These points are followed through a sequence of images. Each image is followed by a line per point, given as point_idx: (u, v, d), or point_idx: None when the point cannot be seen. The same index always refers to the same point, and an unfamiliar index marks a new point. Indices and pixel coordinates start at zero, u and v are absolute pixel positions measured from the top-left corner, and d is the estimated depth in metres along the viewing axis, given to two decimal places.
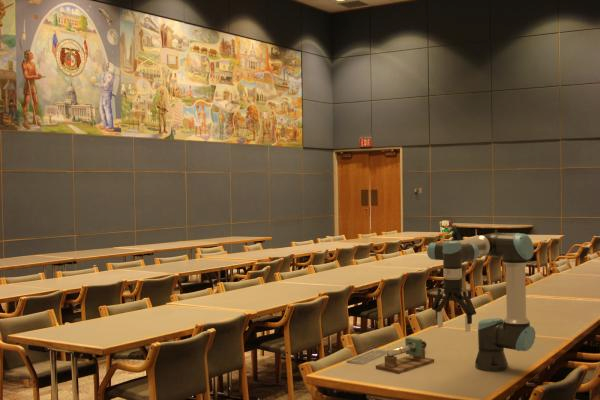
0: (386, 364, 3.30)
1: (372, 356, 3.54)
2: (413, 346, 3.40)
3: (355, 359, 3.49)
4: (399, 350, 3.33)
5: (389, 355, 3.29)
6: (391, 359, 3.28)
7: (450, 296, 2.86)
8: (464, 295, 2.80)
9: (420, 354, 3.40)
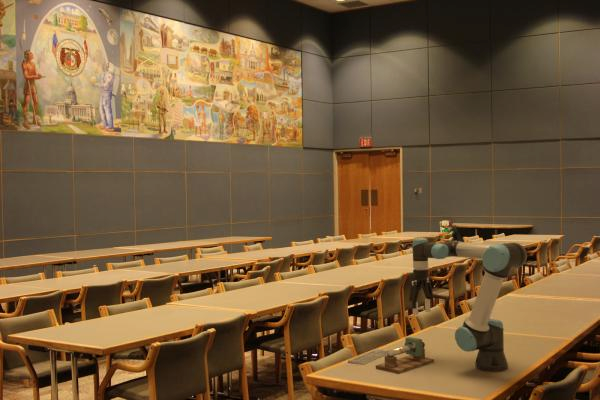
0: (386, 364, 3.30)
1: (373, 356, 3.54)
2: (413, 346, 3.40)
3: (356, 359, 3.48)
4: (399, 350, 3.33)
5: (389, 355, 3.29)
6: (391, 359, 3.28)
7: None
8: None
9: (420, 354, 3.40)
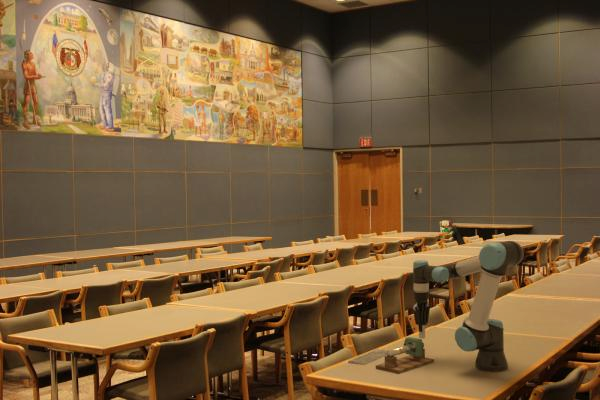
0: (386, 364, 3.30)
1: (374, 356, 3.54)
2: (413, 346, 3.40)
3: (357, 359, 3.48)
4: (399, 350, 3.33)
5: (389, 355, 3.29)
6: (391, 359, 3.28)
7: None
8: None
9: (420, 354, 3.40)
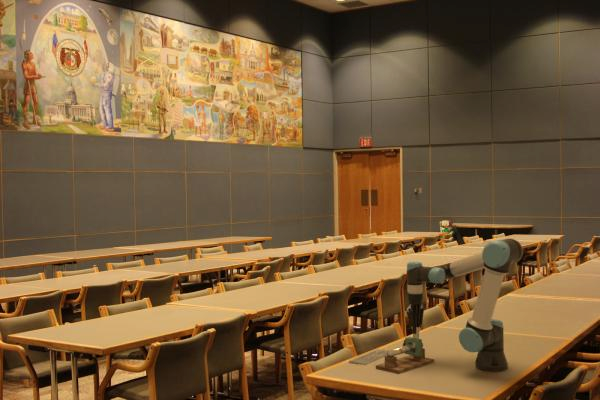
0: (386, 364, 3.30)
1: (374, 356, 3.54)
2: (413, 346, 3.40)
3: (357, 359, 3.48)
4: (399, 350, 3.33)
5: (389, 355, 3.29)
6: (391, 359, 3.28)
7: None
8: None
9: (420, 354, 3.39)
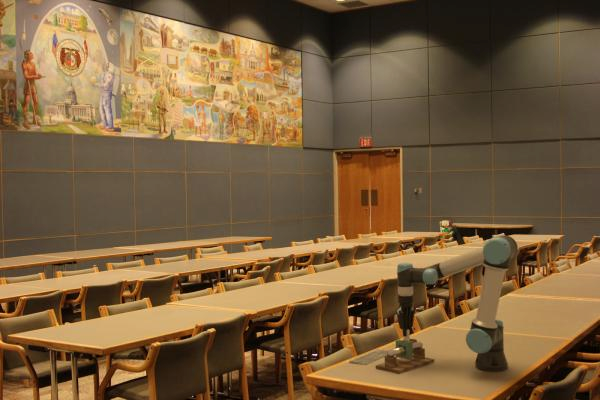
0: (386, 364, 3.30)
1: (375, 356, 3.53)
2: (413, 346, 3.40)
3: (358, 359, 3.48)
4: (399, 350, 3.33)
5: (389, 355, 3.29)
6: (391, 359, 3.28)
7: None
8: None
9: (410, 357, 3.34)
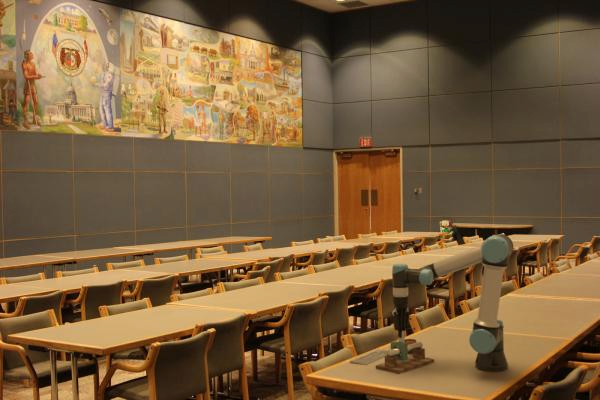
0: (386, 364, 3.30)
1: (375, 356, 3.53)
2: (413, 346, 3.40)
3: (358, 359, 3.48)
4: (399, 350, 3.33)
5: (389, 355, 3.29)
6: (391, 359, 3.28)
7: None
8: None
9: (405, 358, 3.32)
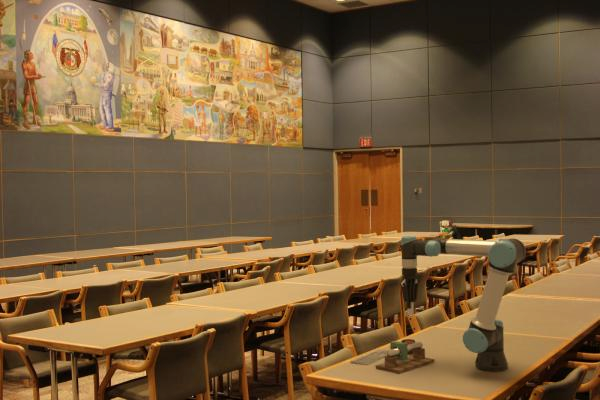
0: (386, 364, 3.30)
1: (376, 357, 3.53)
2: (413, 346, 3.40)
3: (359, 360, 3.47)
4: (399, 350, 3.33)
5: (389, 355, 3.29)
6: (391, 359, 3.28)
7: None
8: None
9: (405, 359, 3.32)
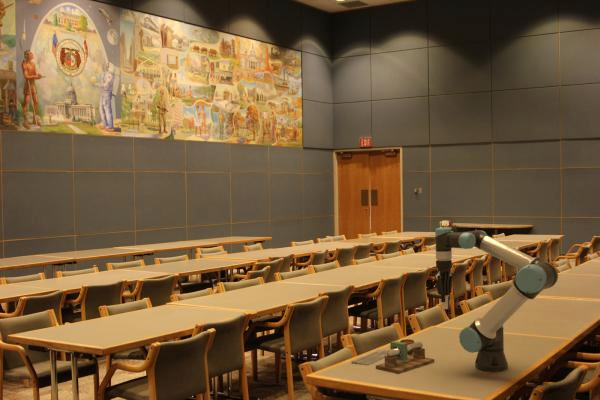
0: (386, 364, 3.30)
1: (377, 357, 3.53)
2: (413, 346, 3.40)
3: (360, 360, 3.47)
4: (399, 350, 3.33)
5: (389, 355, 3.29)
6: (391, 359, 3.28)
7: None
8: None
9: (405, 359, 3.32)
